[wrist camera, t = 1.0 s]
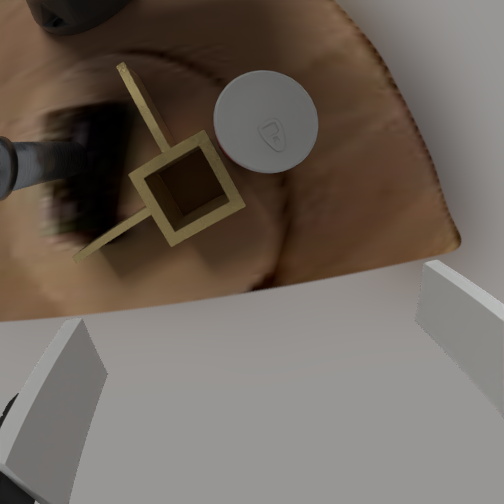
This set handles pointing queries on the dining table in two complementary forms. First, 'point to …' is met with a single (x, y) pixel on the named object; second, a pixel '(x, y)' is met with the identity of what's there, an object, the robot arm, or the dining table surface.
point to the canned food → (265, 122)
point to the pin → (37, 163)
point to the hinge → (156, 190)
